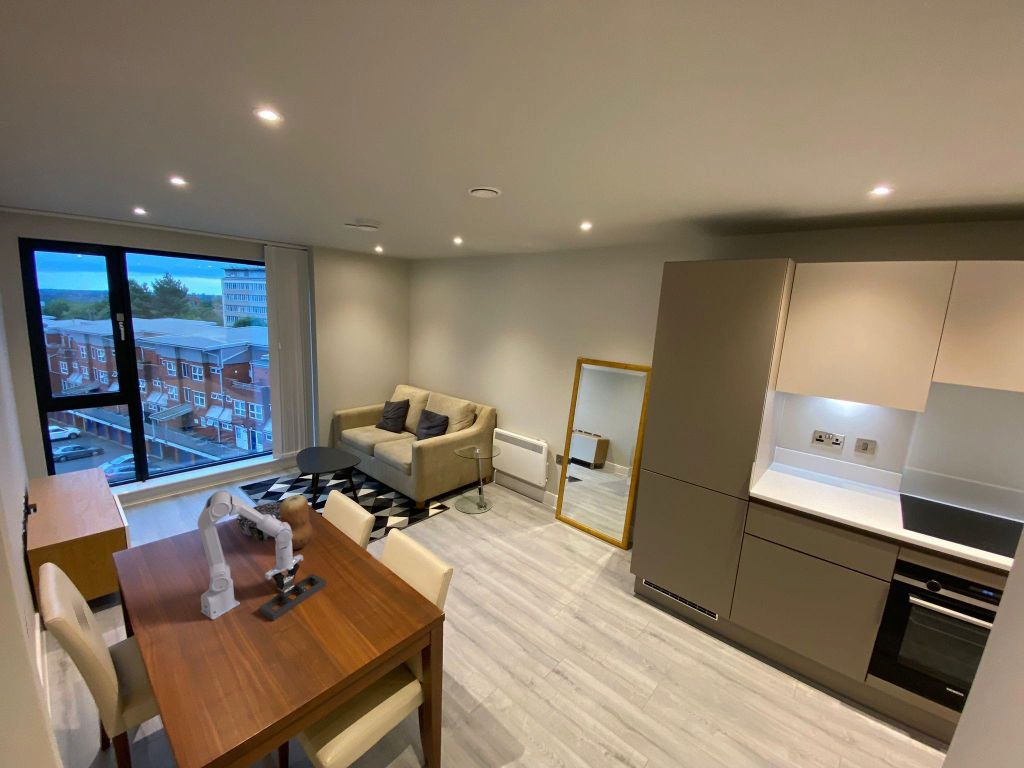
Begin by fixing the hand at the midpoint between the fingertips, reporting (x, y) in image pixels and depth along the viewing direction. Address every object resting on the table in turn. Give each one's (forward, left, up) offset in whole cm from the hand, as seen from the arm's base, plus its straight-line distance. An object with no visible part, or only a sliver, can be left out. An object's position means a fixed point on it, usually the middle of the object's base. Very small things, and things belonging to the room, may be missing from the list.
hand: (285, 585), depth 163 cm
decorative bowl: (+23, +45, -2) cm, 50 cm away
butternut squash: (+20, +21, -2) cm, 29 cm away
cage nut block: (0, 0, -1) cm, 1 cm away
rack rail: (-2, -8, -1) cm, 8 cm away
